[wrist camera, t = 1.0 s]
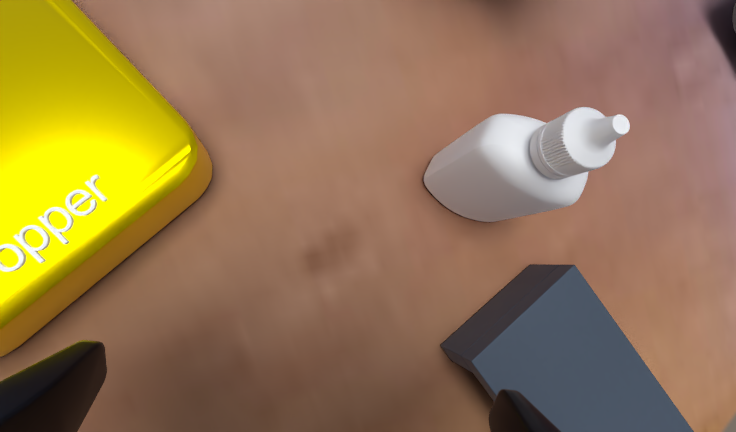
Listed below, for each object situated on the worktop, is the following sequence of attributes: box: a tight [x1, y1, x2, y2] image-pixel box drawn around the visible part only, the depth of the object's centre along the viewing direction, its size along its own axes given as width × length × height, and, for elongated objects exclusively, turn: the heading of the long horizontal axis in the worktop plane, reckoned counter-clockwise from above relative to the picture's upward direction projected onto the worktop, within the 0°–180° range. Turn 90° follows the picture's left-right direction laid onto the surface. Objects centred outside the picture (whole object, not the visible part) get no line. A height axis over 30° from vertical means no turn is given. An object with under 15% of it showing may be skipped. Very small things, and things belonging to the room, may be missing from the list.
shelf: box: [441, 265, 693, 432], centre depth 23 cm, size 8×12×4 cm, turn 38°
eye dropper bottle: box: [424, 107, 630, 222], centre depth 19 cm, size 4×6×12 cm
